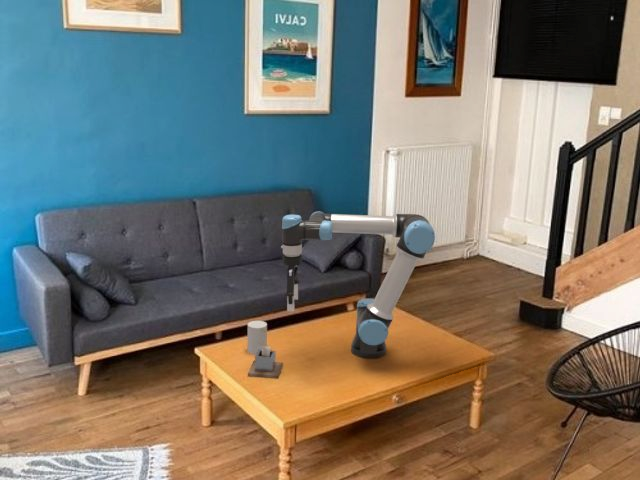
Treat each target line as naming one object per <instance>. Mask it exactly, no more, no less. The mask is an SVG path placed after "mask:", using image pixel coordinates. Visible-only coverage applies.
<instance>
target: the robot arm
mask: <svg viewBox="0 0 640 480" xmlns="http://www.w3.org/2000/svg"><path fill="white" fill-rule="evenodd" d="M281 221H282V222H281V223H282V225H281V229H282V230H281V236H282V245H281V246H280V249H282V264H283V265H284V266H287V269H286V273H287V274H286V278H287V279H286V280H287V281H286V293H285V294H284V296H285V297H286V301H287V302H286V303H287V304H286V306H287V307H286V309H287V310H286V311H287V312H295V300H299V284H300V280H299V273H298V271H299V267H298V266H300V265H301V264H302V263H303V259H302V258H303V256H302V253H303V246H302V245H303V242H302V241H328V240H329V241H330V240H332V238H333V233H336V234H337V233H340V234H366V235H385V236H386V235H391V236H392V237H393V238H399V239H398V242H397V244H396V245H395V247H396V248H397V253H396V254H395V256H394V258H393V260H392V262H391V265H390V267H389V268H388V271H387V273H386V275H385V277H384V279H383V281H382V283H381V285H380V287H379V289H378V291H377V294H376V295H375V298H362V299H359V300H357V304H356V322H355V323H356V324H355V335H354V337H353V338H352V342H351V345H350V351H351V353H352V354H354V356H358V357H360V358H364V359H376V358H382V357H383V356H385V355H386V354H387V344H386V340H387V338H388V336H389V335H388V334H389V329H390V326H391V324H392V322H393V320H394V314H393V311H394V309H395V308H396V305H397V303H398V301H399V299H400V297H401V295H402V293H403V292H404V289H405V288H406V285H407V283H408V281H409V279H410V277H411V275H412V273H413V271H414V269H415V267H416V265H417V263H418V261H420V260H423V259H424V258H425V255H427V252H429V251H430V250H431V249H432V248H433V246H434V244H435V241H436V234H435V230H434V228H433V226H432V224H430V222H429V220H428V219H427V218H426V217H425V216H423V215H421V214H416V213H394V214H393V215H373V214H372V215H370V214H369V215H365V214H364V215H363V214H343V213H341V214H340V213H339V214H338V213H324V212H323V211H320V210H319V211H314V212H313V213H312V214H311V215H310V216H309V219H308V220H302V216H301V215H299V214H286V215H284V216H283V217H282V220H281Z"/></svg>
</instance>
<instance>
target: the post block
mask: <svg viewBox="0 0 640 480" xmlns="http://www.w3.org/2000/svg"><path fill="white" fill-rule="evenodd" d="M270 351H271V346H270V345H268V344H267V345H264V346H262V356H263V357H270ZM283 366H284V362H283V361H282V362H281V361H280V362H279V361H276V365H275V367H274V370H273V372H261V371H255V359H253V361H252V364H250V368H249V370H248V371H247V377H251V378H252V377H254V378H265V379H267V378H268V379H279V377H280V376H281V375H280V374H281V371H282V369H283Z"/></svg>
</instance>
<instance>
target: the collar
mask: <svg viewBox="0 0 640 480" xmlns="http://www.w3.org/2000/svg"><path fill="white" fill-rule="evenodd" d="M276 355H277V352H276V350H270V357H263V356H262V350H258V352H257V354H256V355H254V360H255V371H261V372H273V370H274V367H275V365H276V362H277V361H276V359H277V357H276Z"/></svg>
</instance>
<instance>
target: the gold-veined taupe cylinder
mask: <svg viewBox="0 0 640 480" xmlns="http://www.w3.org/2000/svg"><path fill="white" fill-rule="evenodd" d="M267 342H268V323H267V322H266V321H263V320H252V321H251V320H250V321H249V322H248V323H247V345H246V347H247V349H246V350H247V353H249V354H250V355H252V356H253V355H254V356H256V354H257V352H258V350H262V346H264V345H268V343H267Z"/></svg>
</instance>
